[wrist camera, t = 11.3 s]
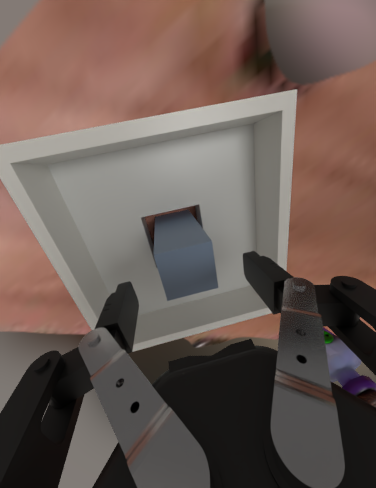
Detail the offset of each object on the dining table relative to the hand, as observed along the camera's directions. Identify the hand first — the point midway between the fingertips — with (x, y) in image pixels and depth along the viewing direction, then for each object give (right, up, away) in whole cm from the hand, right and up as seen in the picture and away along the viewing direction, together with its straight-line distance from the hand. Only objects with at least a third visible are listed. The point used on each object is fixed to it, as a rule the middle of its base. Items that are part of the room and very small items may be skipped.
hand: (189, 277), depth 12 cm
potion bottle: (+22, -14, +22) cm, 34 cm away
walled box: (-2, +4, +9) cm, 10 cm away
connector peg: (-2, +4, +9) cm, 10 cm away
